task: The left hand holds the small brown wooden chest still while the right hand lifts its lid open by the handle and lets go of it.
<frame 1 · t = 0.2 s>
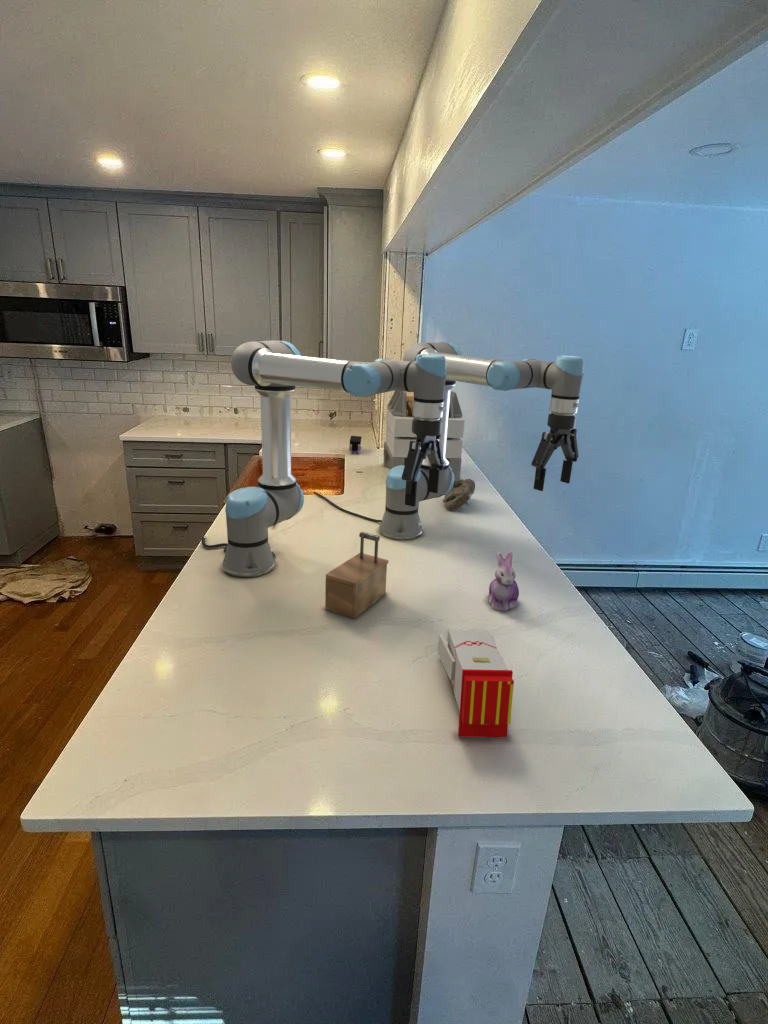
left hand: (421, 498, 149), 28 cm above the counter, tool pointing down, fingers open, 13 cm apart
right hand: (551, 486, 166), 28 cm above the counter, tool pointing down, fingers open, 13 cm apart
feather: (280, 515, 212), on the counter
white wooden crate: (419, 473, 275), on the counter
figurine character: (355, 451, 310), on the counter
fossil: (457, 503, 234), on the counter
figurine: (502, 603, 155), on the counter
chest: (356, 601, 153), on the counter
lid: (358, 555, 149), point 13 cm above the counter, hinge at 0.0°
toy: (469, 691, 119), on the counter
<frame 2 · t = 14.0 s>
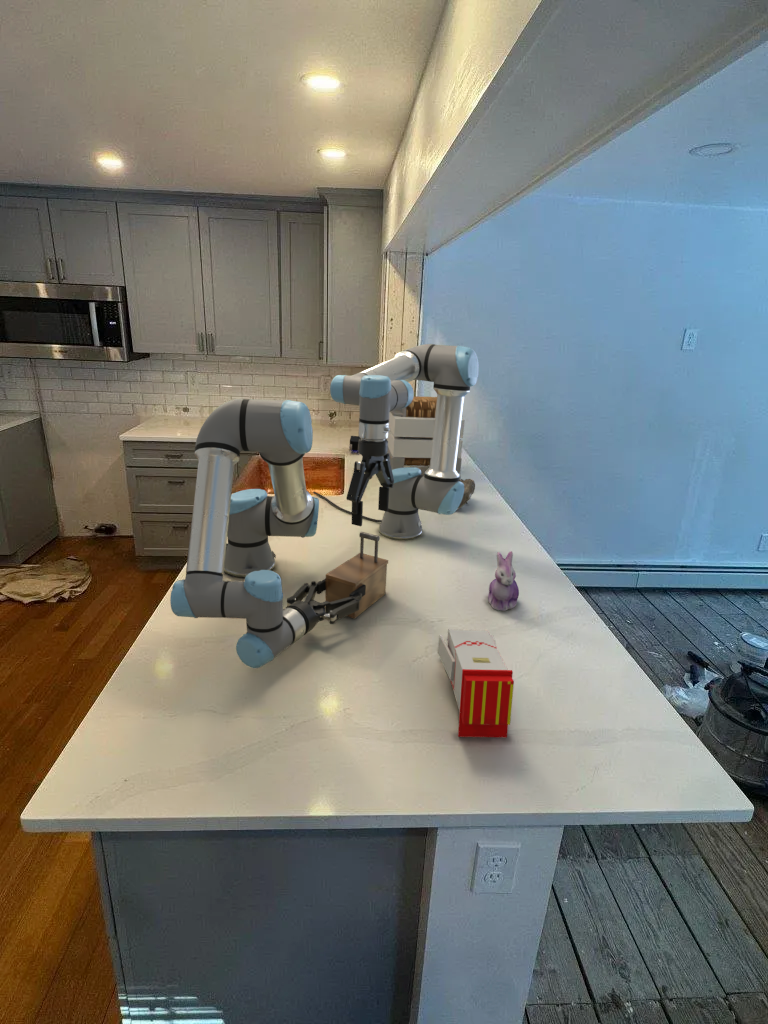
left hand: (348, 584, 147), 7 cm above the counter, tool horizontal, fingers closed on chest, 9 cm apart
right hand: (370, 517, 150), 22 cm above the counter, tool pointing down, fingers open, 13 cm apart
chest: (356, 601, 153), on the counter, touching left hand
everything else where it was.
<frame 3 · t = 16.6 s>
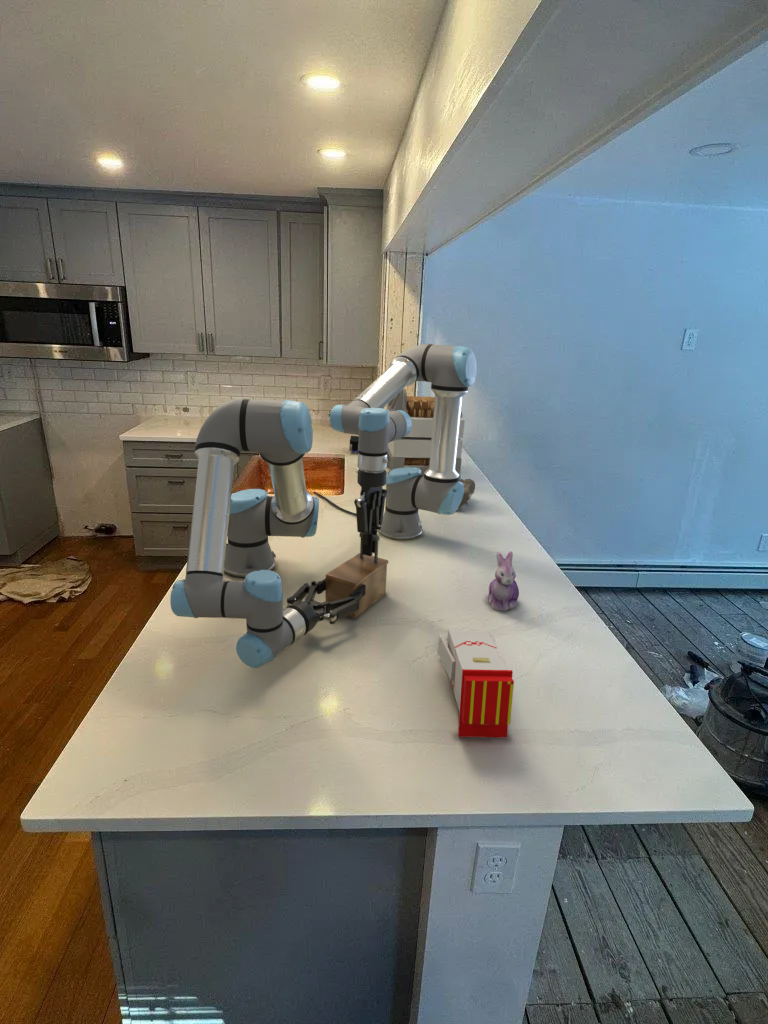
left hand: (348, 584, 147), 7 cm above the counter, tool horizontal, fingers closed on chest, 9 cm apart
right hand: (369, 553, 154), 12 cm above the counter, tool pointing down, fingers closed on lid, 2 cm apart
chest: (356, 601, 153), on the counter, touching left hand
lid: (358, 555, 149), point 13 cm above the counter, hinge at -0.1°, touching right hand
everything else where it was.
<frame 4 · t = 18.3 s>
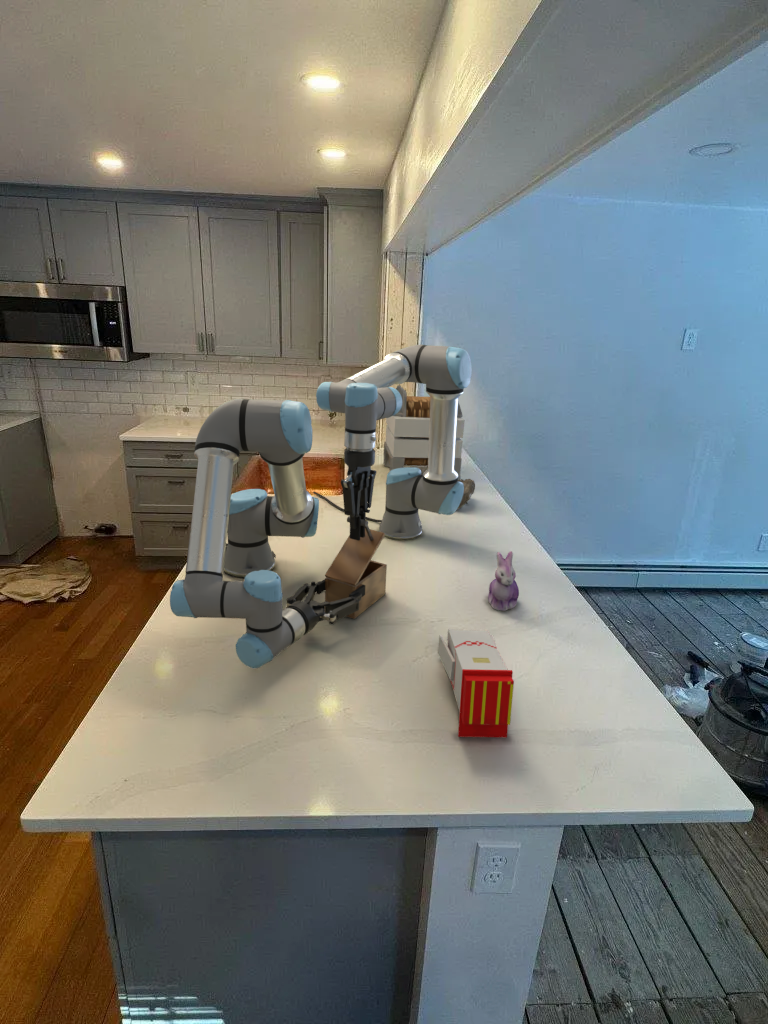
left hand: (347, 584, 147), 7 cm above the counter, tool horizontal, fingers closed on chest, 9 cm apart
right hand: (357, 537, 146), 19 cm above the counter, tool pointing down, fingers closed on lid, 2 cm apart
chest: (356, 601, 153), on the counter, touching left hand
lid: (351, 545, 144), point 17 cm above the counter, hinge at 32.8°, touching right hand
everything else where it was.
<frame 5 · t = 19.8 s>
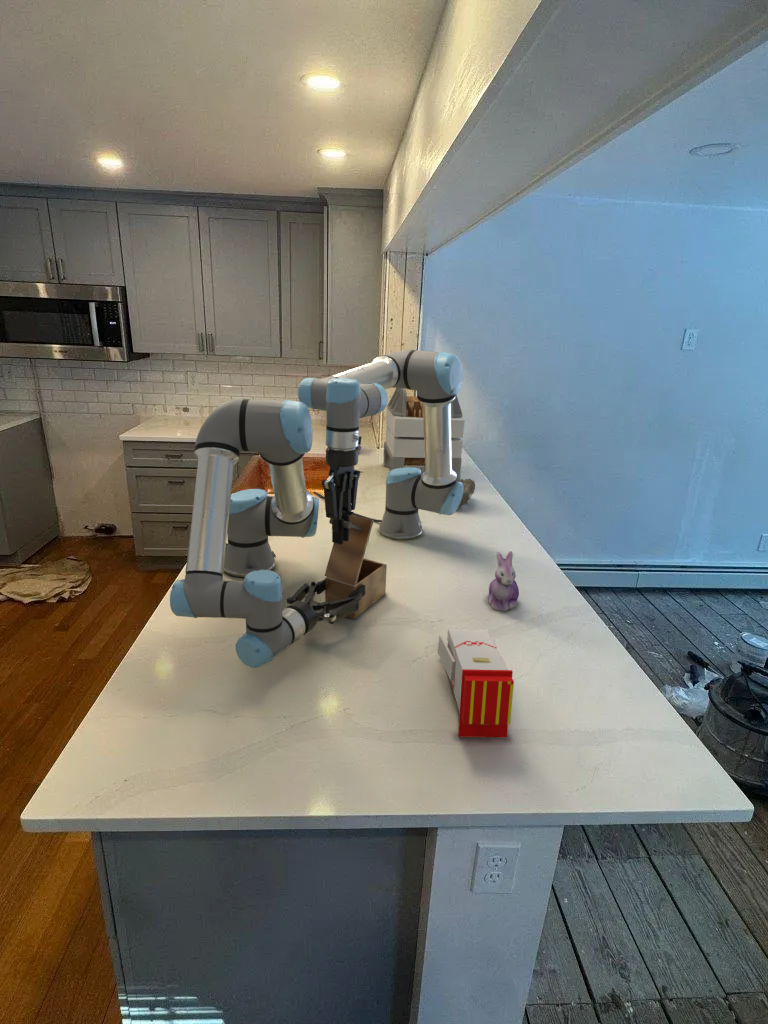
left hand: (347, 584, 147), 7 cm above the counter, tool horizontal, fingers closed on chest, 9 cm apart
right hand: (340, 541, 139), 21 cm above the counter, tool pointing down, fingers closed
chest: (356, 601, 153), on the counter, touching left hand
lid: (341, 546, 140), point 19 cm above the counter, hinge at 62.8°
everything else where it was.
when the left hand's fingers open (7 cm above the counter, at t = 23.8 s): chest stays where it is, on the counter.
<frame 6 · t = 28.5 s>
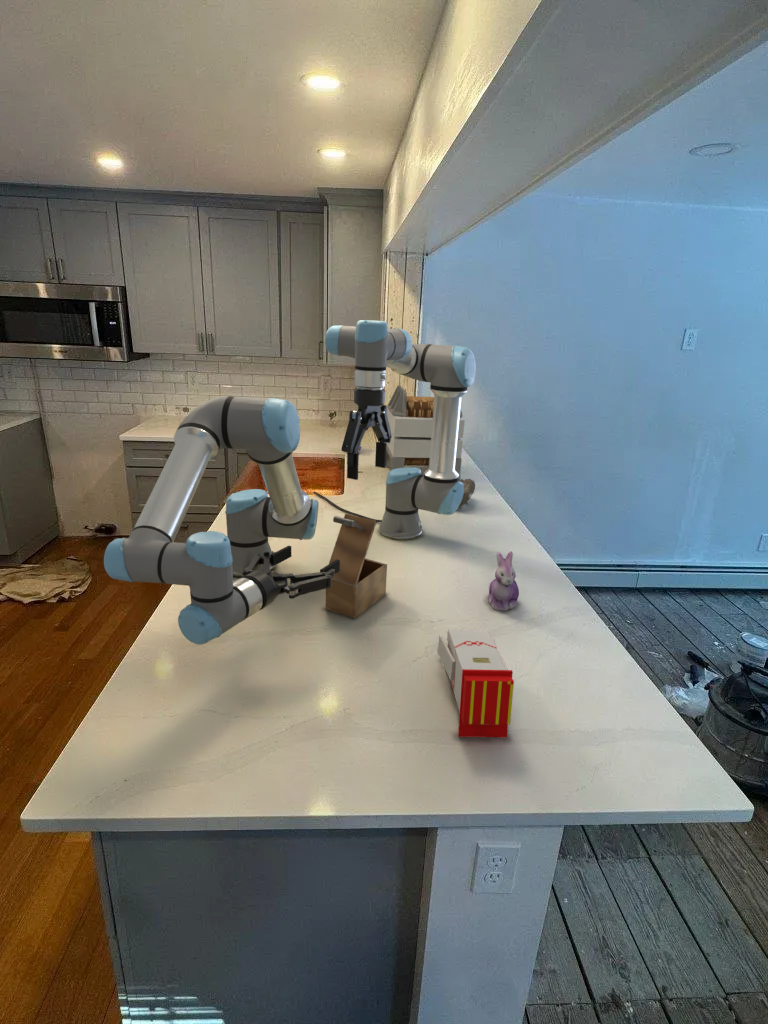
left hand: (313, 557, 130), 20 cm above the counter, tool horizontal, fingers open, 13 cm apart
right hand: (366, 472, 144), 35 cm above the counter, tool pointing down, fingers open, 13 cm apart
chest: (356, 601, 153), on the counter
lid: (343, 545, 141), point 19 cm above the counter, hinge at 57.9°
everything else where it was.
at the end: lid at +58° (first picture: +0°); the left hand is holding nothing; the right hand is holding nothing; chest tilted 0°; chest never tilted more than 1° during the clip; chest moved 0.1 cm from its start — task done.
